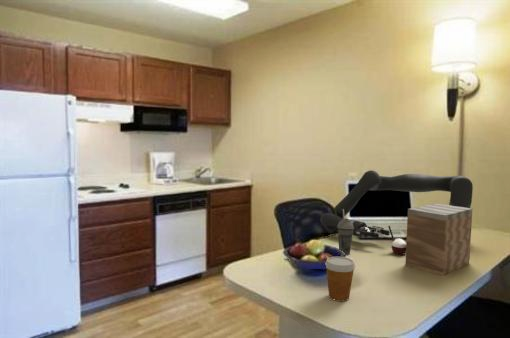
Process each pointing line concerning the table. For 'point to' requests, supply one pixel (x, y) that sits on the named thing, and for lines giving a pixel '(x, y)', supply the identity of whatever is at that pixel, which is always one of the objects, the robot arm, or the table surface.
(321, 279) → the table surface
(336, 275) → the disposable coffee cup
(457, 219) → the under counter cubby
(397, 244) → the cream-topped red cup
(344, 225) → the beverage cup
